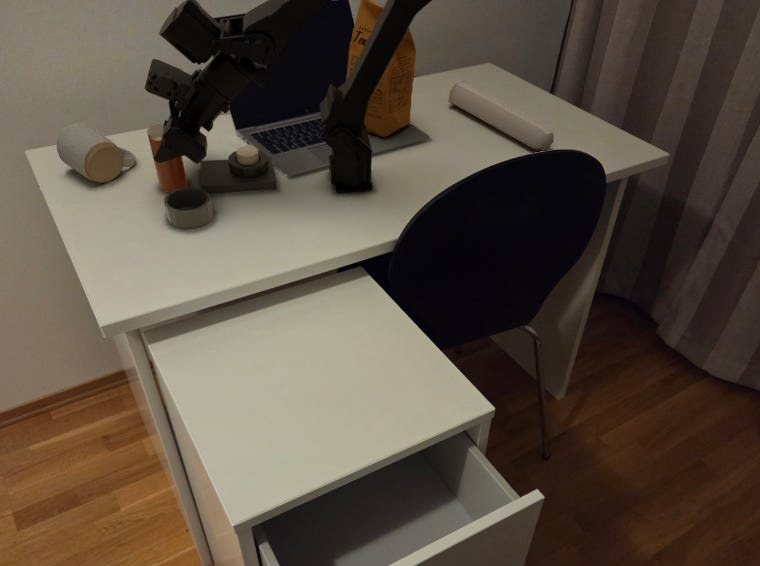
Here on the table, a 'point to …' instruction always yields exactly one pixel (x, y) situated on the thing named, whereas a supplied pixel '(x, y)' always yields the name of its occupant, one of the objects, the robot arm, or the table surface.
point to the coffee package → (385, 75)
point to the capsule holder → (188, 208)
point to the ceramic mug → (92, 153)
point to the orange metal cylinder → (166, 163)
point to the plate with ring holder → (237, 175)
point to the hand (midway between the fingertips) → (157, 153)
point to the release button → (247, 155)
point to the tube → (501, 116)
